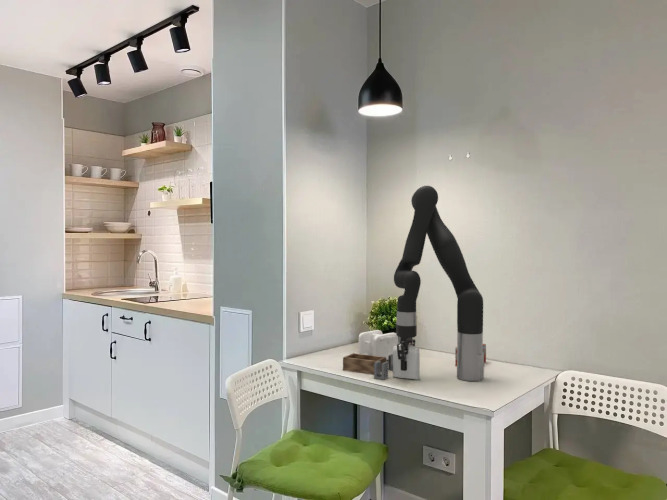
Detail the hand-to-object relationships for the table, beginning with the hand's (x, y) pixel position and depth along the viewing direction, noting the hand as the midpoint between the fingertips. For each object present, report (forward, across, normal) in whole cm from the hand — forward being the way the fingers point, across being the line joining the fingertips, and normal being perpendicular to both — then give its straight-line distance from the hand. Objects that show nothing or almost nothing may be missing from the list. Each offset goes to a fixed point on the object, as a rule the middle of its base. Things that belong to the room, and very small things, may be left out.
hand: (406, 368), depth 199 cm
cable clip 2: (+3, +9, +8) cm, 12 cm away
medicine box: (+4, +34, -16) cm, 38 cm away
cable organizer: (+4, +23, +21) cm, 31 cm away
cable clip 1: (+3, -5, +8) cm, 10 cm away
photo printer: (+4, 0, 0) cm, 4 cm away
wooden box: (+3, +3, +18) cm, 19 cm away
